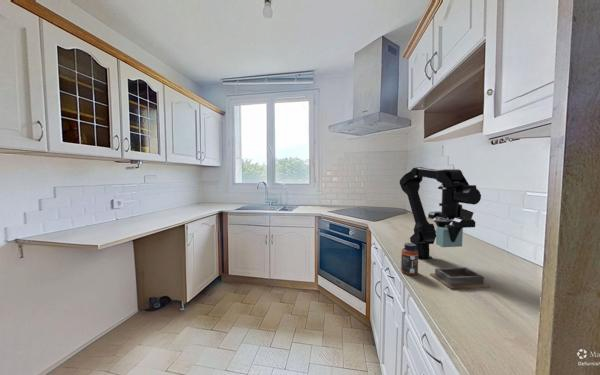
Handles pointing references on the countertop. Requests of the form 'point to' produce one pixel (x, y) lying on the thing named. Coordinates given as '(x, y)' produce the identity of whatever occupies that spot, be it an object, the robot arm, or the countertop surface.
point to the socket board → (459, 278)
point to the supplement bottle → (409, 259)
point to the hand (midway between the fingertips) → (449, 240)
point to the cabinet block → (447, 237)
